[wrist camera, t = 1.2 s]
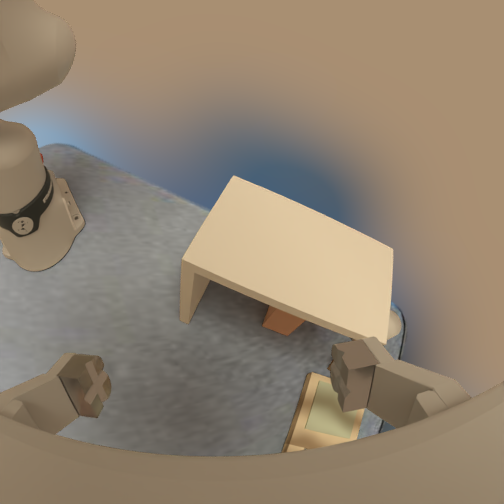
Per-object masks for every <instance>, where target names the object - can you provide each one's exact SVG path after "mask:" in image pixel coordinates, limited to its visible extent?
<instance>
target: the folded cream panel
mask: <svg viewBox="0 0 504 504" xmlns="http://www.w3.org/2000/svg"><path fill="white" fill-rule="evenodd" d="M392 272H393V249H392V248H390V247H388V246H386V245H384V244H382V243H380V242H378V241H376V240H374V239H372V238H370V237H368V236H366V235H364V234H362V233H360V232H358V231H356V230H354V229H352V228H350V227H348V226H346V225H344V224H342V223H340V222H338V221H335V220H334V219H331V218H330V217H327V216H325V215H323V214H321V213H319V212H317V211H314V210H312V209H310V208H308V207H306V206H304V205H301V204H299V203H297V202H295V201H292V200H290V199H288V198H285V197H283V196H281V195H279V194H276V193H274V192H272V191H269V190H267V189H265V188H263V187H260V186H258V185H255V184H253V183H251V182H248V181H245V180H243V179H241V178H239V177H236V176H233V177H232V179H231V180H230V182H229V183H228V185H227V186H226V188H225V189H224V191H223V193H222V194H221V196H220V197H219V199H218V200H217V202H216V204H215V205H214V207H213V208H212V210H211V212H210V213H209V215H208V216H207V218H206V220H205V221H204V223H203V224H202V226H201V228H200V229H199V231H198V233H197V234H196V236H195V238H194V239H193V241H192V242H191V244H190V246H189V248H188V249H187V251H186V253H185V254H184V256H183V258H182V263H181V287H180V321H182V322H184V323H186V324H189V322H190V320H191V318H192V316H193V314H194V312H195V310H196V308H197V306H198V304H199V302H200V300H201V298H202V296H203V294H204V292H205V290H206V288H207V286H208V284H209V282H210V280H212V281H214V282H217V283H219V284H221V285H223V286H226V287H228V288H230V289H233V290H235V291H237V292H240V293H242V294H244V295H246V296H249V297H251V298H253V299H256V300H258V301H261V302H263V303H265V304H268V305H270V306H272V307H275V308H277V309H280V310H282V311H284V312H287V313H289V314H292V315H294V316H297V317H299V318H302V319H304V320H307V321H309V322H312V323H314V324H317V325H319V326H322V327H324V328H327V329H329V330H332V331H334V332H337V333H340V334H342V335H345V336H347V337H350V338H353V339H355V340H360V339H364V338H368V337H373V336H374V337H376V338H377V339H378V340H379V341H380V343H381V344H382V345H383V346H384V345H386V341H387V333H388V325H389V315H390V303H391V290H392Z"/></svg>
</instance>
